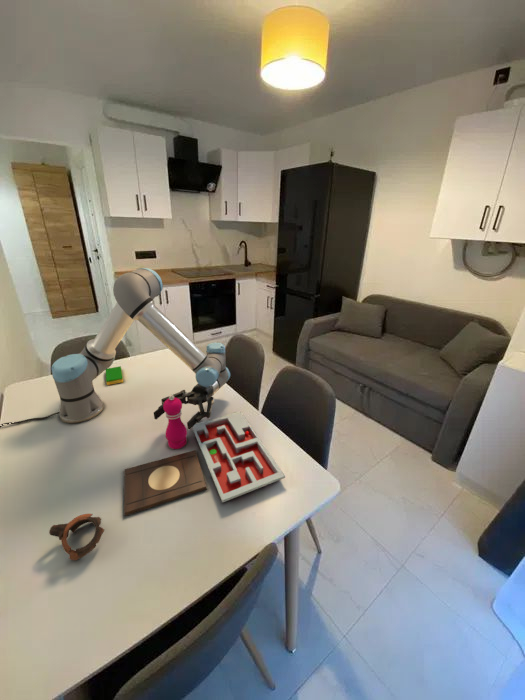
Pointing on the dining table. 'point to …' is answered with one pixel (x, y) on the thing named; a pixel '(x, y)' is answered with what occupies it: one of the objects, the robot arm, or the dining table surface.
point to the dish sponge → (114, 375)
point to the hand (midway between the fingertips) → (171, 421)
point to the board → (162, 481)
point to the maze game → (235, 456)
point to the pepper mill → (174, 423)
